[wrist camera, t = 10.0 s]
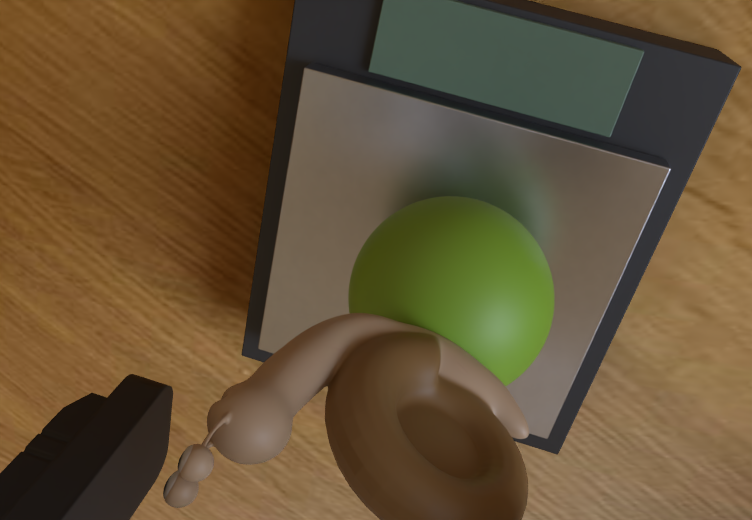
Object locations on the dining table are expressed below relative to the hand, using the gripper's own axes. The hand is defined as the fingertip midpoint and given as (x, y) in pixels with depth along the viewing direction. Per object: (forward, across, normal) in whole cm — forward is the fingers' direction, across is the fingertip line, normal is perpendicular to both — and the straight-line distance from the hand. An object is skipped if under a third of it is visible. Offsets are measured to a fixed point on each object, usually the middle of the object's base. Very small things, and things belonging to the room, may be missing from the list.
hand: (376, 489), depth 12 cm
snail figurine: (+10, 0, 0) cm, 10 cm away
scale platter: (+11, 0, +1) cm, 11 cm away
